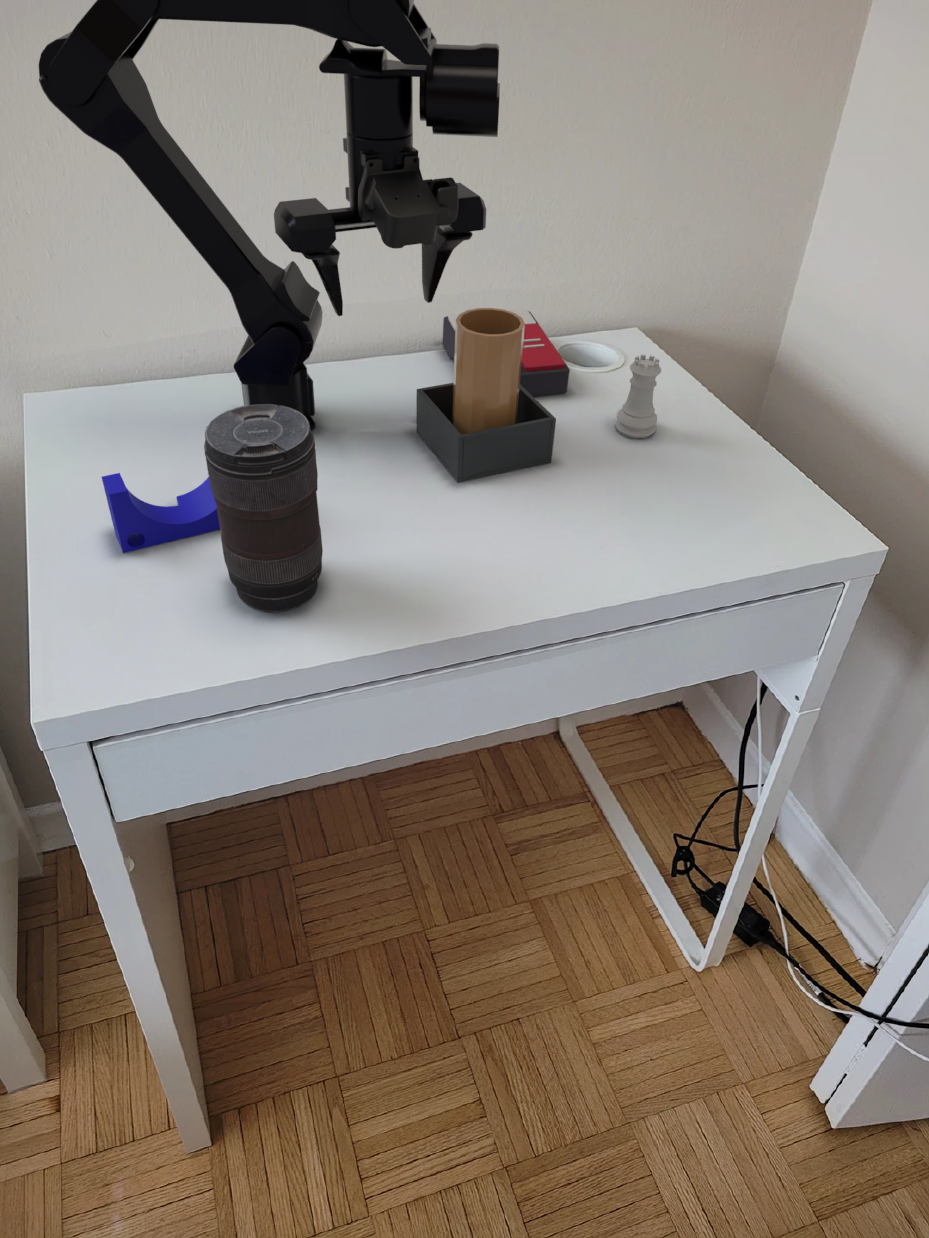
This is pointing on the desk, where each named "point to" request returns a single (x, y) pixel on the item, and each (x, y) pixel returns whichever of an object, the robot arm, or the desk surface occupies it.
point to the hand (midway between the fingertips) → (384, 308)
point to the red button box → (527, 357)
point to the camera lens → (266, 503)
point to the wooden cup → (487, 369)
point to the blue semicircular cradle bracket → (158, 515)
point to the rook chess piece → (640, 400)
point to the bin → (484, 436)
